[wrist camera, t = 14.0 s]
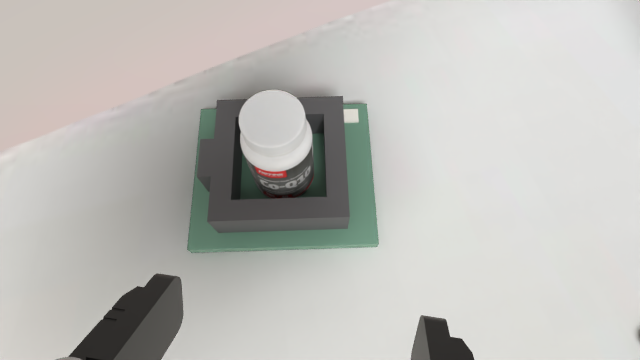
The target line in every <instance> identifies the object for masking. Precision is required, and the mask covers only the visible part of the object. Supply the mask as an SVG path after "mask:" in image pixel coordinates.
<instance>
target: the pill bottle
mask: <svg viewBox="0 0 640 360" xmlns="http://www.w3.org/2000/svg"><path fill="white" fill-rule="evenodd" d="M239 127H240V130H241V134H240V144H241V149H242V152H243V154H244V157H245V159H246V161H247V164H248V166H249V168H250V171H251V173H252V176H253V178H254V181H255V183H256V185H257V187H258V188H259V190H260V191H261V192H262V193H263V194H264V195H266V196H267V197H269V198H271V199H272V198H297V197H299V196H301V195H302V194H303V193H305V192H306V191H307V189H308V188H309V187H310V185H311V183H312V181H313V177H314V155H313V137H312V130H311V127H310V125H309V123H308V121H307V119H306V116H305V111H304V108H303V106H302V104H301V102H300V101H299V100H298V99H297V98H296V97H295V96H293V95H292V94H290V93H288V92H285V91H282V90H265V91H262V92H259V93H257V94H255V95H253V96H252V97H250V98H249V99H248V100H247V101H246V102H245V103H244V105H243V106H242V108H241V111H240V114H239Z"/></svg>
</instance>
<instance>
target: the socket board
mask: <svg viewBox="0 0 640 360" xmlns="http://www.w3.org/2000/svg"><path fill="white" fill-rule="evenodd" d="M297 99H298V100H299V101H300V102H301V104H302V106H303V108H304V111H305V116H306V119H307V121H308V123H309V125H310V127H311V130H312V137H313V155H314V177H313V181H312V183H311V185H310V187H309V188H308V189H307V191H306V192H305V193H303V194H302V195H301V196H299V197H297V198H272V199H271V198H269V197H267V196H266V195H264V194H263V193H262V192H261V191H260V190H259V188H258V187H257V185H256V183H255V181H254V178H253V176H252V173H251V171H250V168H249V166H248V164H247V161H246V159H245V157H244V154H243V152H242V149H241V144H240V134H241V130H240V127H239V114H240V111H241V108H242V106H243V105H244V103H245V102H246V101H247V100H248V99H243V100H217V108H216V109H201V116H200V126H199V136H198V146H197V156H196V166H195V177H194V187H193V197H192V207H191V217H190V227H189V237H188V247H187V250H188V251H190V252H191V253H199V252H231V251H263V250H294V249H326V248H358V247H377V246H378V244H379V242H378V230H377V219H376V207H375V195H374V184H373V172H372V160H371V149H370V137H369V125H368V114H367V104H344V105H343V96H335V97H304V98H297Z"/></svg>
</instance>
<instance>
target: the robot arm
mask: <svg viewBox="0 0 640 360" xmlns="http://www.w3.org/2000/svg"><path fill="white" fill-rule="evenodd" d="M182 319H183V300H182V285H181V279H180V277H177V276H170V275H164V274H155V275H154V276H153V277H152V278H151V280H150V281H149V282H148V283H147V284H146V286H145V287H138V286H137V287H136V288H134V289H133V290H131V291H129V292H128V293H126V294H125V295H123V296H122V297H121V298H120V299H119V300H118V301H117V303H116V304H115V305H114V306H113V307H112V310H109V312H108V313H107V314H106V315H105V316H104V318H103V320H101V321H100V322H99V323H98V324H97V325H96V326H95V327H94V328H93V330H92V331H91V332H90V333H89V334H88V335H87V336H86V337H85V339H84V340H83V341H82V342H81V343H80V344H79V345H78V346H77V348H76V349H75V350H74V351H73V352H72V353H71V354H70V355H69V356H68V357H65V358H60V359H56V360H161V359H162V357H163V355H164V354H165V352H166V351H167V349H168V347H169V346H170V344H171V342H172V341H173V339H174V338H175V336H176V334H177V333H178V331H179V329H180V326H181V323H182ZM411 360H474V357H473V354H472V352H471V351H470V349H469V348H468V347H467V345H466V344H465V343H464V341H463V340H462V339H460V338H454V337H450V334H449V330H448V326H447V322H446V320H445V319H442V318H436V317H430V316H423V315H421V317H420V320H419V324H418V328H417V332H416V336H415V340H414V344H413V349H412V354H411Z"/></svg>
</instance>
